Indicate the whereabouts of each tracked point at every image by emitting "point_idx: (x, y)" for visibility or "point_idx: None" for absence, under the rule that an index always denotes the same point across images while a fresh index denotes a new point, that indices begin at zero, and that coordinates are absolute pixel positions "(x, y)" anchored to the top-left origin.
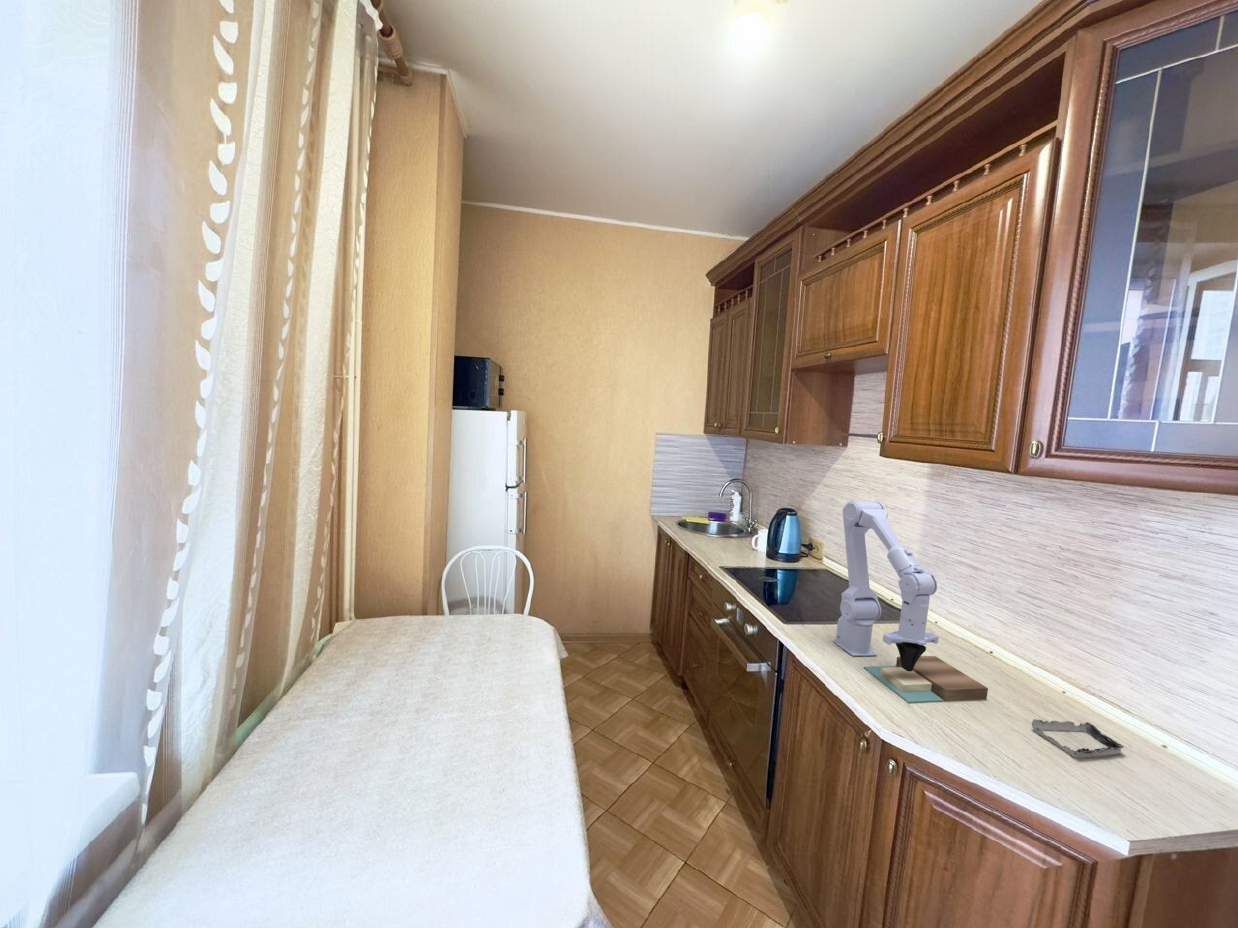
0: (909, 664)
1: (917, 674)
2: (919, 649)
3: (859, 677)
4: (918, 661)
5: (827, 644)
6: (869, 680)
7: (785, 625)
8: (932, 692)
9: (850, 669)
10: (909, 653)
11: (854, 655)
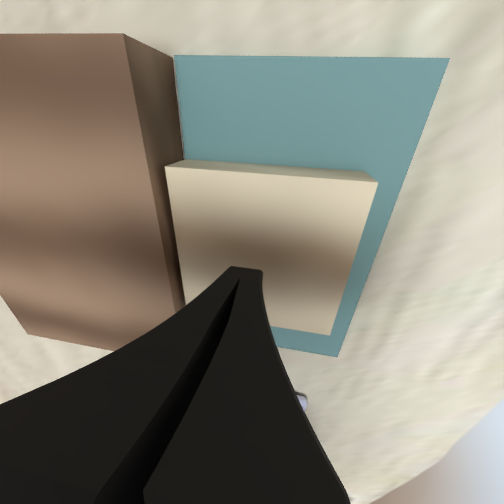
0: (259, 297)
1: (184, 258)
2: (93, 500)
3: (433, 317)
4: (114, 324)
5: (323, 439)
6: (411, 293)
7: (354, 496)
8: (186, 146)
9: (403, 358)
10: (301, 421)
11: (300, 397)
